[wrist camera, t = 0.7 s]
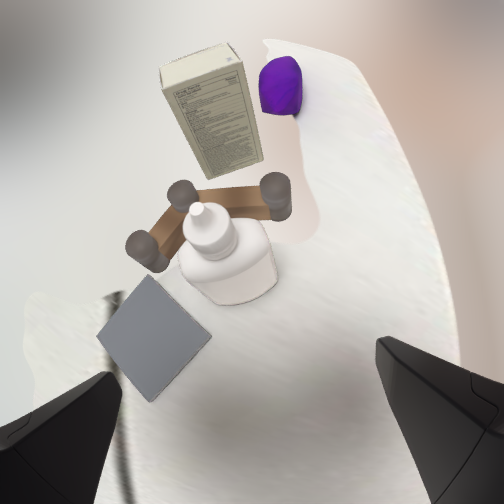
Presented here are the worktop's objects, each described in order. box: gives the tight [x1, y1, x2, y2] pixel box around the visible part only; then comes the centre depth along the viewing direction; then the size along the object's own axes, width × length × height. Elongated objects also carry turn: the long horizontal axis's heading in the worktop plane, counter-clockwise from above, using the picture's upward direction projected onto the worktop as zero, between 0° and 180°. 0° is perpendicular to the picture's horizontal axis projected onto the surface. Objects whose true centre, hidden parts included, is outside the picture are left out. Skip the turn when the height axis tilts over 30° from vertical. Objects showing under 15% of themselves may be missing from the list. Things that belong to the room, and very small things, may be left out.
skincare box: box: [159, 42, 263, 180], centre depth 23 cm, size 6×4×12 cm
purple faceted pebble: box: [259, 56, 302, 115], centre depth 30 cm, size 5×5×15 cm
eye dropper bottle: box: [178, 202, 278, 305], centre depth 18 cm, size 4×6×12 cm
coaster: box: [96, 275, 212, 402], centre depth 22 cm, size 8×8×1 cm
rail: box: [125, 172, 292, 273], centre depth 24 cm, size 13×8×4 cm, turn 139°
